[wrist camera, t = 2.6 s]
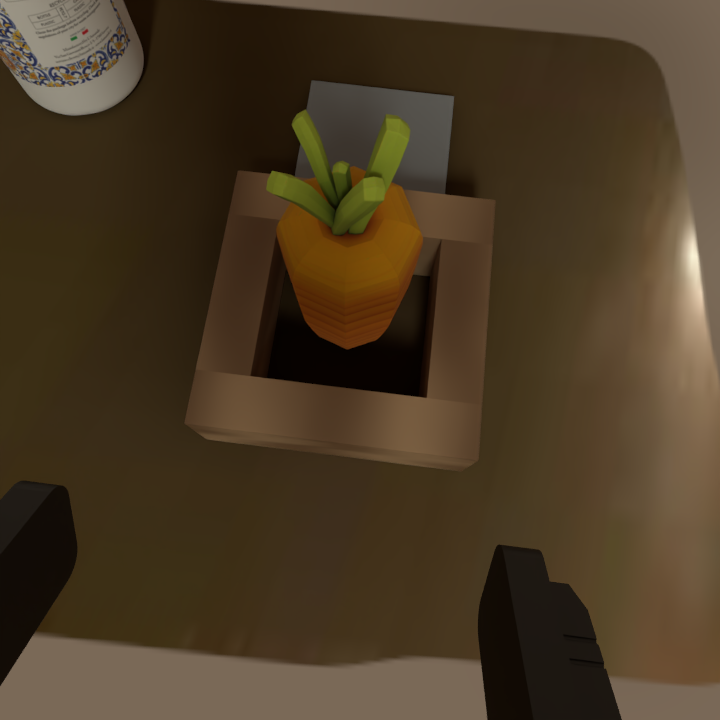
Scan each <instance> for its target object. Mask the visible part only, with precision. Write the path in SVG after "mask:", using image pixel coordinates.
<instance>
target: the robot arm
mask: <svg viewBox="0 0 720 720" xmlns="http://www.w3.org/2000/svg"><path fill="white" fill-rule="evenodd" d="M76 557H77V540H76V534H75V528H74V522H73V516H72V511H71V505H70V499H69V494H68V491H67V489H66V488H65V487H64V486H61V485H53V484H45V483H38V482H30V481H20V482H18V483H16V484H15V485H14V486H13V487H12V488H11V489H10V490H9V491H8V492H7V493H6V494H5V495H4V497H3V498H2V499H1V500H0V686H1V684H2V682H3V681H4V679H5V678H6V676H7V675H8V673H9V672H10V670H11V668H12V667H13V665H14V664H15V662H16V660H17V659H18V657H19V656H20V654H21V653H22V651H23V649H24V648H25V647H26V645H27V644H28V642H29V640H30V639H31V637H32V636H33V634H34V633H35V631H36V630H37V628H38V626H39V625H40V623H41V622H42V620H43V619H44V617H45V615H46V614H47V612H48V611H49V609H50V608H51V606H52V605H53V603H54V601H55V600H56V598H57V597H58V595H59V594H60V592H61V591H62V589H63V587H64V586H65V584H66V583H67V581H68V579H69V578H70V576H71V574H72V571H73V569H74V565H75V562H76ZM478 638H479V647H480V656H481V665H482V673H483V683H484V692H485V701H486V709H487V719H488V720H622V719H621V716H620V713H619V709H618V706H617V703H616V700H615V697H614V693H613V690H612V687H611V684H610V680H609V677H608V674H607V671H606V669H604V661H603V658H602V655H601V651H600V648H599V645H598V644H597V643H596V639H597V638H596V635H595V632H594V629H593V626H592V622H591V619H590V616H589V613H588V610H587V609H586V607H585V606H584V604H583V603H582V602H581V600H580V599H579V598H578V596H577V595H576V594H575V592H574V591H573V590H572V588H571V587H570V586H569V584H564V583H556V582H550V581H549V577H548V573H547V569H546V566H545V562H544V558H543V555H542V553H541V551H540V550H536V549H529V548H521V547H513V546H506V545H497V547H496V549H495V552H494V555H493V558H492V562H491V565H490V569H489V572H488V576H487V579H486V583H485V586H484V590H483V593H482V597H481V601H480V606H479V614H478Z"/></svg>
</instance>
